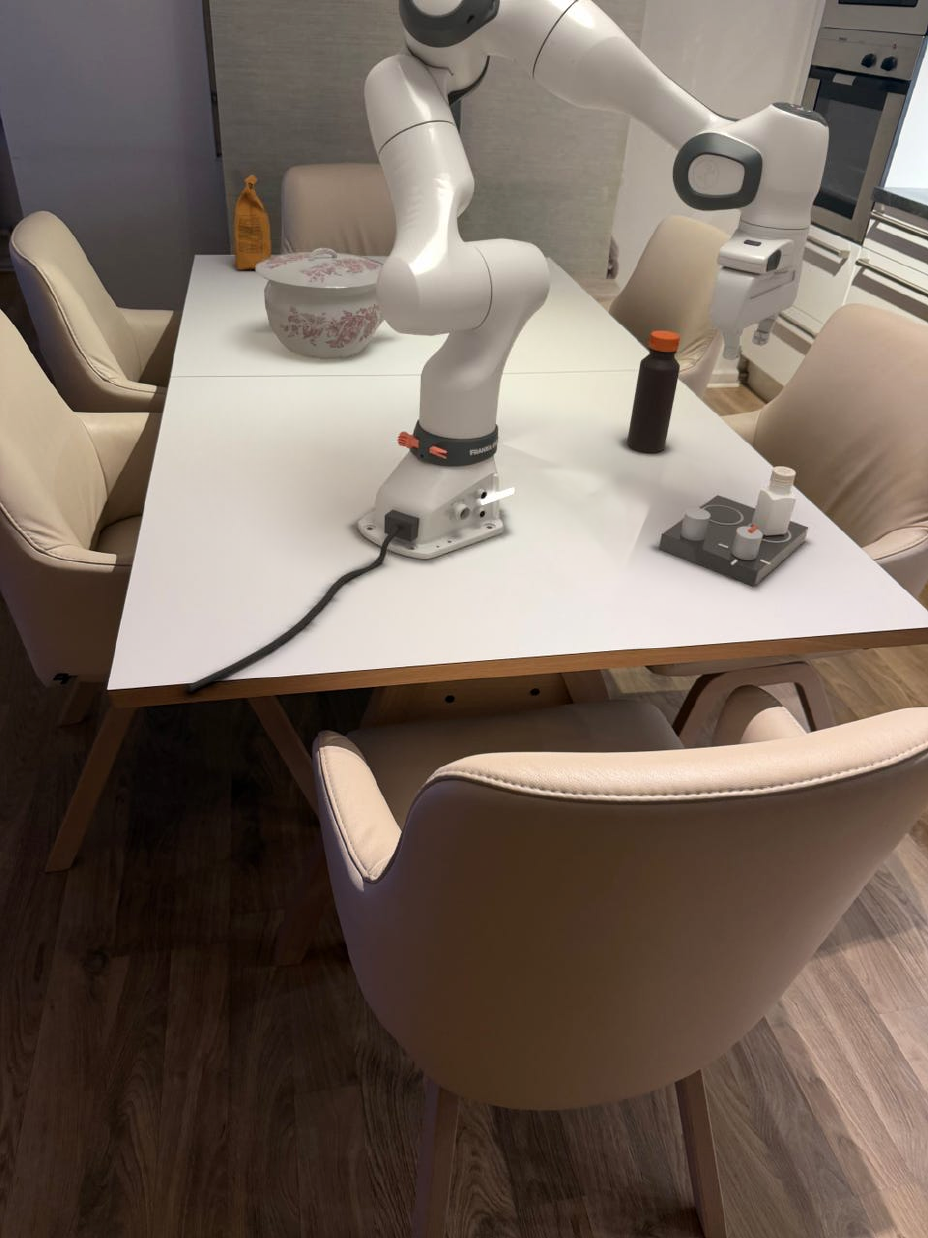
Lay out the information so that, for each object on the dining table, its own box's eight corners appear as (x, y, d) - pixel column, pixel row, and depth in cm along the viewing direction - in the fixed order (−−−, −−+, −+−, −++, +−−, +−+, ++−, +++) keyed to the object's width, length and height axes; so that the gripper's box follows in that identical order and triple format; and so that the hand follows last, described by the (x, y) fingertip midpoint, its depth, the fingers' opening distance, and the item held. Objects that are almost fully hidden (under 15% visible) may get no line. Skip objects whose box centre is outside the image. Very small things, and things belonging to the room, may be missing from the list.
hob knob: (750, 563, 132) (756, 539, 130) (726, 554, 134) (732, 530, 132) (761, 554, 135) (767, 530, 133) (738, 545, 136) (744, 521, 134)
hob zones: (758, 566, 132) (764, 544, 130) (668, 532, 139) (673, 510, 137) (798, 532, 141) (804, 511, 139) (712, 501, 148) (717, 480, 146)
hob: (753, 590, 131) (758, 573, 130) (655, 550, 139) (658, 534, 137) (806, 542, 144) (811, 527, 142) (714, 508, 151) (717, 493, 150)
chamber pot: (234, 356, 196) (227, 251, 185) (296, 322, 218) (293, 226, 207) (360, 379, 190) (360, 272, 178) (410, 341, 212) (413, 243, 200)
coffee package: (276, 261, 263) (272, 174, 250) (270, 272, 252) (265, 182, 240) (239, 259, 262) (233, 171, 250) (232, 270, 252) (225, 180, 239)
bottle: (638, 435, 175) (657, 325, 164) (671, 446, 172) (693, 335, 160) (619, 445, 170) (637, 333, 159) (652, 456, 167) (673, 343, 156)
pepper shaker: (763, 537, 139) (779, 477, 133) (749, 524, 142) (764, 465, 136) (787, 535, 140) (804, 475, 134) (773, 522, 143) (789, 464, 137)
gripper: (778, 231, 133) (755, 330, 140) (712, 252, 119) (690, 361, 127) (822, 239, 129) (796, 341, 137) (759, 262, 116) (734, 373, 123)
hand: (745, 350), depth 132 cm, fingers open, 8 cm apart
